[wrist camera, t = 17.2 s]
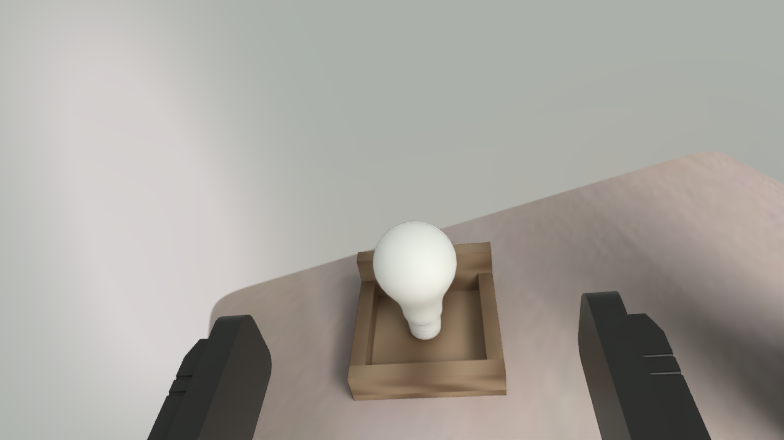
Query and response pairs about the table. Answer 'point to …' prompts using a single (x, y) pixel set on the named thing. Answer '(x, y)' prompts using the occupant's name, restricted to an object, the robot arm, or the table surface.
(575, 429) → the table surface
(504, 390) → the cradle
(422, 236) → the lightbulb
